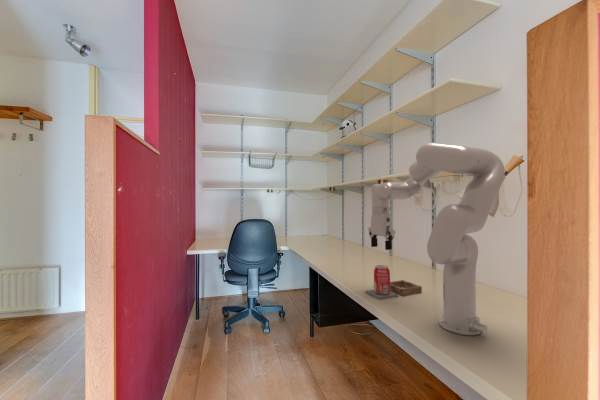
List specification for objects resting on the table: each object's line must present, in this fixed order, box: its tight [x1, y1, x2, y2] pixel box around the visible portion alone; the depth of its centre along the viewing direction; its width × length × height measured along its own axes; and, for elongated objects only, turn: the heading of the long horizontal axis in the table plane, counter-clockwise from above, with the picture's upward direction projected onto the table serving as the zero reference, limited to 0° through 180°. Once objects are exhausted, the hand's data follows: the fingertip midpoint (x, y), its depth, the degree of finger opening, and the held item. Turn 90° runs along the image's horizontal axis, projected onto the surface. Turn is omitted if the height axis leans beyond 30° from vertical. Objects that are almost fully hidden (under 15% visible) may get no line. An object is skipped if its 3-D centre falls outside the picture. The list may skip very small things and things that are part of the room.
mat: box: [365, 288, 399, 301], centre depth 123 cm, size 10×10×1 cm
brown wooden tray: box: [390, 279, 423, 297], centre depth 128 cm, size 11×11×3 cm
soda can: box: [373, 264, 391, 295], centre depth 122 cm, size 7×7×12 cm
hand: (381, 248), depth 123 cm, fingers open, 9 cm apart
